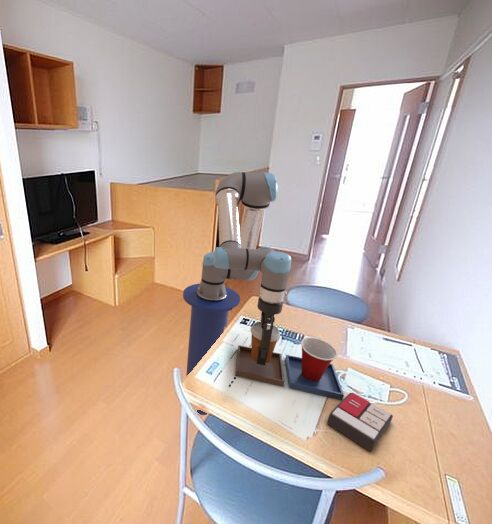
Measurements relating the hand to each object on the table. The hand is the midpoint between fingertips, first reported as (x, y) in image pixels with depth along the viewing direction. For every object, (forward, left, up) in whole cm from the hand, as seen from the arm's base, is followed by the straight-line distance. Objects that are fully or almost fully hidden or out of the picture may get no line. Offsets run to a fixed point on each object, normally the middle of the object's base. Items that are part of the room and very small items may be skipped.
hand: (260, 356), depth 107 cm
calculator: (+16, +27, -5) cm, 31 cm away
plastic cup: (0, +17, -4) cm, 18 cm away
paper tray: (0, 0, -5) cm, 5 cm away
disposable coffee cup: (0, 0, -1) cm, 1 cm away
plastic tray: (0, +17, -5) cm, 18 cm away
